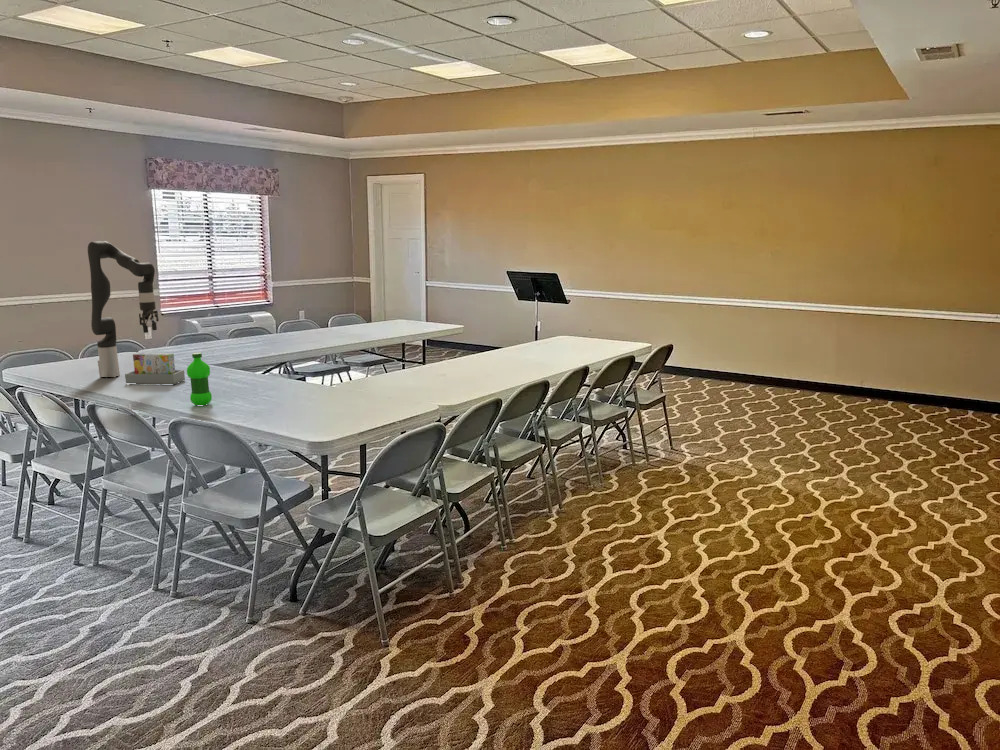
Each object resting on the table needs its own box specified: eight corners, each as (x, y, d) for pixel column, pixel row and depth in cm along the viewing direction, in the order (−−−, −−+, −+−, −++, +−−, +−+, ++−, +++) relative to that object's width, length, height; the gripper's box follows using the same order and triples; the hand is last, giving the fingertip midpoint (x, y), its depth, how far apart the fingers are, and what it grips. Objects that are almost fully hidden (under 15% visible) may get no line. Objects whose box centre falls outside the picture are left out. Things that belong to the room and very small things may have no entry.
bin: (126, 384, 394) (124, 374, 393) (138, 379, 405) (137, 369, 404) (174, 385, 392) (173, 374, 391) (185, 380, 403) (183, 370, 402)
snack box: (176, 380, 400) (174, 353, 396) (170, 382, 394) (167, 355, 391) (141, 379, 403) (138, 352, 400) (134, 381, 398) (131, 353, 395)
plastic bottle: (194, 402, 356) (188, 351, 350) (216, 402, 356) (211, 351, 351) (186, 408, 346) (181, 355, 341) (209, 407, 347) (204, 355, 341)
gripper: (146, 302, 382) (149, 333, 385) (161, 299, 396) (164, 329, 399) (132, 302, 382) (136, 333, 386) (147, 299, 396) (150, 329, 400)
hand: (150, 331), depth 393 cm, fingers open, 8 cm apart
